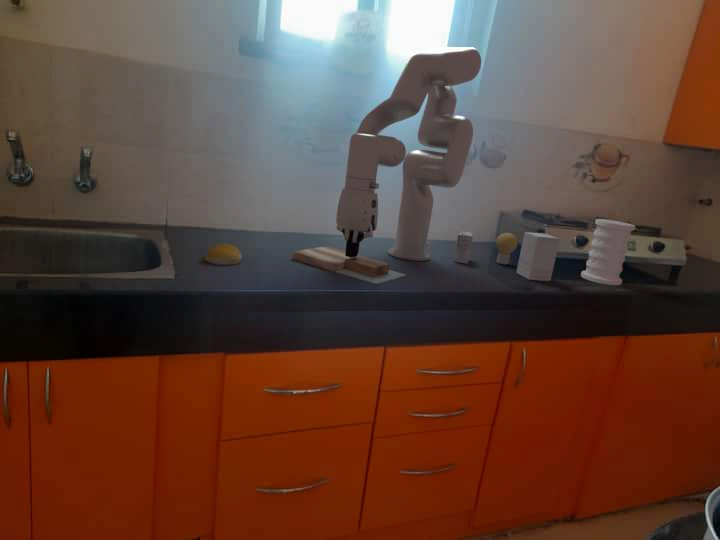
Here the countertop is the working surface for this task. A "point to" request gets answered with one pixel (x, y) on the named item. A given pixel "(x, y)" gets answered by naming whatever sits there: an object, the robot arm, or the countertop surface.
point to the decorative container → (608, 252)
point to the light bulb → (505, 247)
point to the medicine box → (463, 247)
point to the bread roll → (223, 255)
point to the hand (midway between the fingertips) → (351, 256)
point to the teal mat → (376, 280)
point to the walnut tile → (366, 266)
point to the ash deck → (322, 257)
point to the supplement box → (537, 256)
